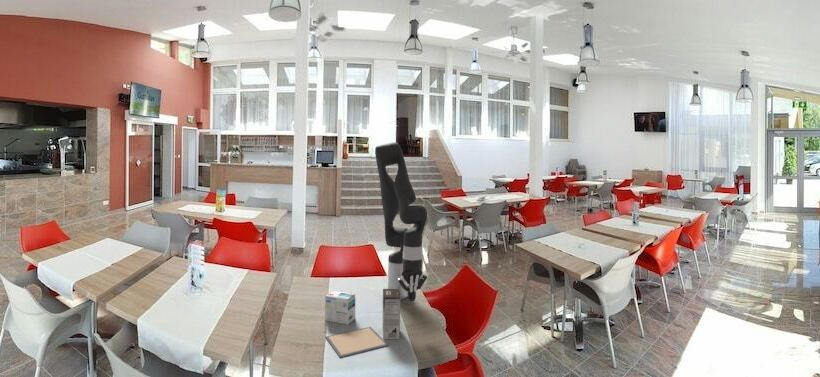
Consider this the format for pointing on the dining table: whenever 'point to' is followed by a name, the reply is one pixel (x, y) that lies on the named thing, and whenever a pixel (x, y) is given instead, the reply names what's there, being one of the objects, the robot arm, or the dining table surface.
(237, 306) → the dining table surface
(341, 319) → the light bulb box
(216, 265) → the dining table surface
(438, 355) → the dining table surface
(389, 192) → the robot arm
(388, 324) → the coffee box
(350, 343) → the mat
